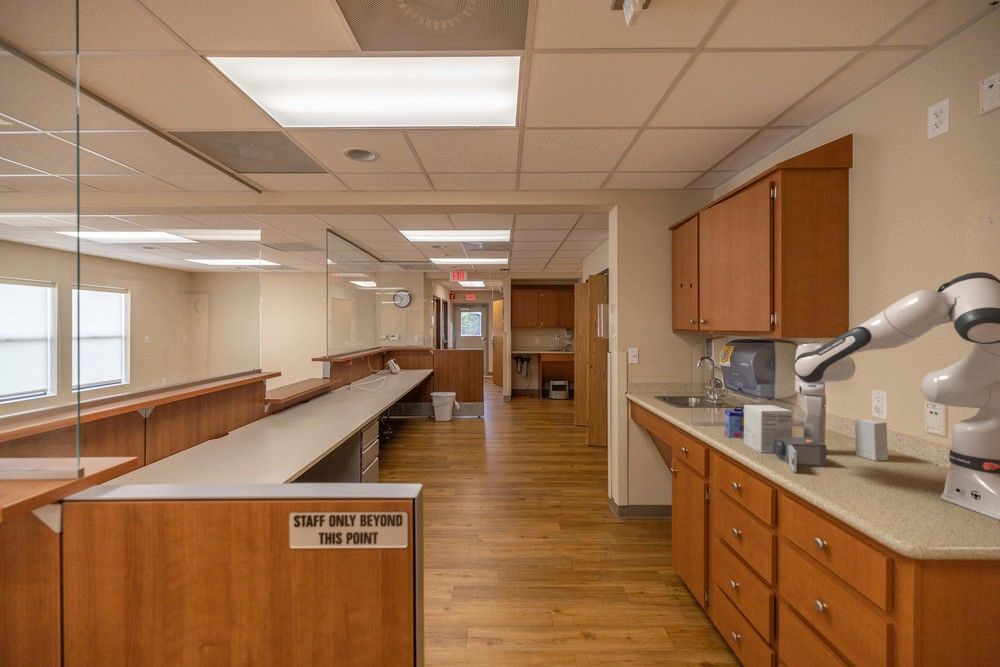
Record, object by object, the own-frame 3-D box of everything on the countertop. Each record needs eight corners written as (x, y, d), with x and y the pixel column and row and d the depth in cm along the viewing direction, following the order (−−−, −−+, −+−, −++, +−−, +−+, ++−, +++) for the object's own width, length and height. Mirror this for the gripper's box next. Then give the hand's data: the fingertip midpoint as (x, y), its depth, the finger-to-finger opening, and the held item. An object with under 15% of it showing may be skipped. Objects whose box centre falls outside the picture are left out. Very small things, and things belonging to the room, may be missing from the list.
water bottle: (829, 455, 171) (831, 393, 171) (807, 454, 173) (809, 393, 172) (817, 448, 180) (818, 390, 180) (796, 447, 182) (798, 389, 181)
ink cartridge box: (728, 437, 197) (729, 406, 197) (723, 434, 203) (724, 404, 203) (751, 438, 197) (751, 407, 196) (745, 435, 202) (745, 405, 202)
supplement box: (793, 453, 174) (793, 411, 173) (760, 453, 174) (761, 410, 174) (772, 444, 187) (773, 404, 187) (742, 443, 187) (743, 404, 187)
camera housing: (826, 466, 157) (826, 443, 157) (787, 465, 159) (787, 441, 159) (807, 457, 168) (808, 435, 168) (771, 456, 170) (771, 434, 170)
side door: (791, 471, 150) (792, 451, 150) (786, 463, 160) (787, 444, 160) (796, 472, 150) (796, 452, 150) (790, 463, 160) (791, 444, 159)
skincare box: (888, 460, 165) (889, 422, 165) (874, 461, 164) (875, 423, 164) (866, 454, 173) (867, 418, 173) (853, 454, 172) (854, 418, 172)
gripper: (795, 383, 163) (795, 419, 163) (802, 390, 145) (802, 430, 145) (815, 384, 160) (815, 421, 160) (825, 391, 142) (825, 432, 142)
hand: (809, 425), depth 153 cm, fingers closed
